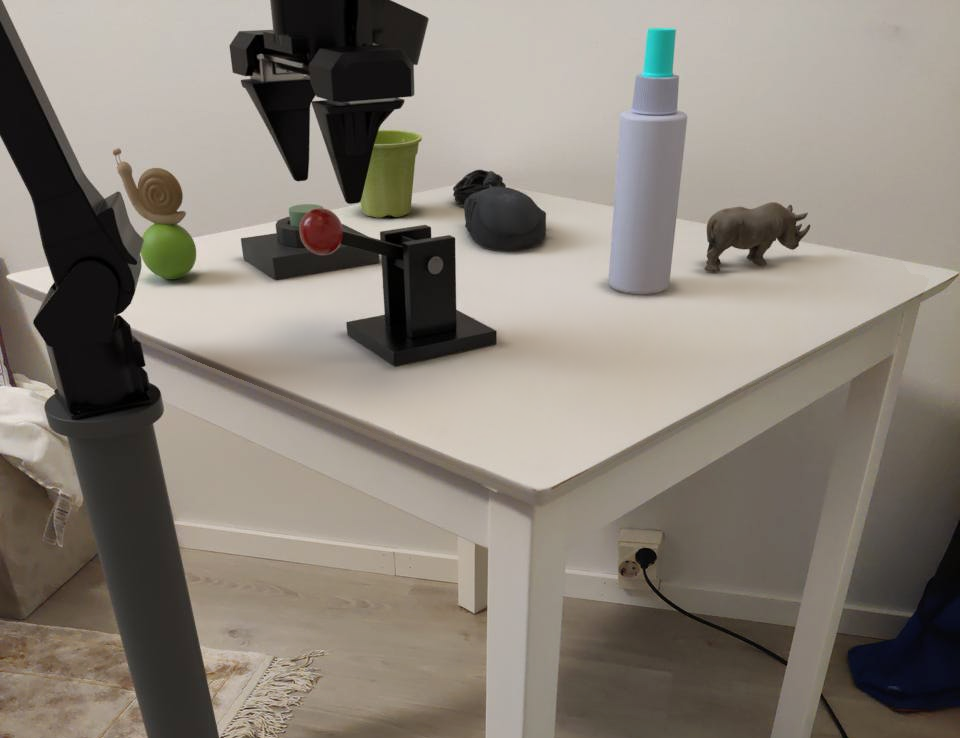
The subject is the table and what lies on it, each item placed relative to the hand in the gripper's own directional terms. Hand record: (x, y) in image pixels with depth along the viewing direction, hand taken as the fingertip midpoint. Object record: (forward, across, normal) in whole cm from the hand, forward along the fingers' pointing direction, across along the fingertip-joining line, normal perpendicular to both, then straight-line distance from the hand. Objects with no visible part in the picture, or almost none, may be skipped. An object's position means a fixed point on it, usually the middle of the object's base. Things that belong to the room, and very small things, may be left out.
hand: (326, 191), depth 76 cm
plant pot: (+13, +41, -27) cm, 51 cm away
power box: (+13, +27, -10) cm, 31 cm away
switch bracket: (+13, -1, -7) cm, 15 cm away
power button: (+9, +27, -10) cm, 30 cm away
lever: (+6, -1, -2) cm, 6 cm away
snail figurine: (+13, +29, +5) cm, 32 cm away
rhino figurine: (+12, 0, -50) cm, 51 cm away
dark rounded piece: (+13, +31, -37) cm, 50 cm away
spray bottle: (+13, 0, -34) cm, 36 cm away
